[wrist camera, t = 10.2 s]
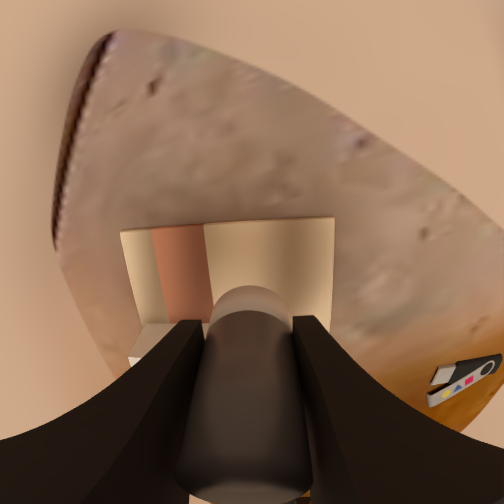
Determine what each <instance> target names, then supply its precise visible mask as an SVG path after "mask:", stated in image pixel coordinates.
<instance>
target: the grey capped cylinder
mask: <svg viewBox="0 0 504 504" xmlns="http://www.w3.org/2000/svg"><path fill="white" fill-rule="evenodd" d="M174 478H175V480H176V482H177V484H178V485H179V486H180V487H181V488H182V489H183V490H185V491H186V492H188V493H189V494H191V495H193V496H195V497H197V498H200V499H202V500H205V501H208V502H211V503H215V504H282V503H285V502H288V501H291V500H294V499H296V498H298V497H300V496H302V495H303V494H305V493H306V492H307V491H308V490H309V489H310V488H311V487H312V485H313V482H314V480H313V471H312V463H311V455H310V447H309V440H308V432H307V425H306V418H305V411H304V404H303V397H302V390H301V383H300V377H299V370H298V364H297V359H296V354H295V347H294V341H293V334H292V325H291V319H290V313H289V310H288V307H287V305H286V303H285V302H284V300H283V299H282V298H281V297H280V296H279V295H278V294H276V293H275V292H273V291H271V290H269V289H267V288H264V287H260V286H254V285H246V286H240V287H236V288H234V289H231V290H229V291H227V292H226V293H225V294H223V295H222V296H221V297H220V298H219V299H218V300H217V302H216V304H215V305H214V308H213V311H212V315H211V319H210V323H209V327H208V331H207V335H206V339H205V343H204V347H203V351H202V355H201V359H200V363H199V368H198V372H197V376H196V380H195V384H194V388H193V393H192V397H191V401H190V406H189V410H188V414H187V419H186V423H185V427H184V432H183V436H182V441H181V445H180V450H179V454H178V459H177V463H176V468H175V473H174Z"/></svg>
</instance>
